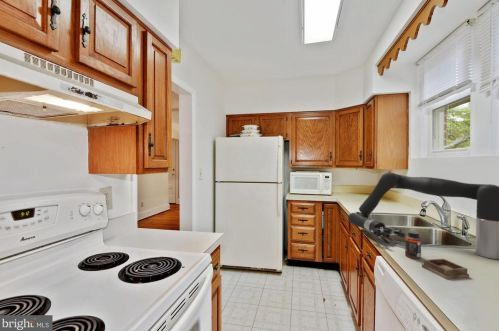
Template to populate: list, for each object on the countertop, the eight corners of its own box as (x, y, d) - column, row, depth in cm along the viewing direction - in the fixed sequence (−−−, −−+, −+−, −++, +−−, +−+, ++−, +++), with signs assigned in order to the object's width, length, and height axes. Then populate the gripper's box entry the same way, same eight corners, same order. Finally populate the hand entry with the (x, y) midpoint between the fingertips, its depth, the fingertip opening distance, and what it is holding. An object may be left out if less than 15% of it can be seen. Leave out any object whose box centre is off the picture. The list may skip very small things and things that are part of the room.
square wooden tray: (442, 265, 102) (443, 258, 102) (469, 277, 92) (469, 269, 92) (421, 266, 101) (421, 259, 101) (446, 279, 90) (446, 271, 90)
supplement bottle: (423, 260, 108) (424, 234, 107) (408, 258, 109) (409, 233, 109) (416, 254, 114) (417, 230, 113) (402, 253, 115) (403, 229, 114)
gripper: (363, 220, 136) (384, 229, 120) (385, 219, 138) (409, 227, 122) (362, 234, 136) (383, 244, 120) (385, 233, 138) (408, 242, 122)
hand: (396, 235), depth 121 cm, fingers open, 8 cm apart
